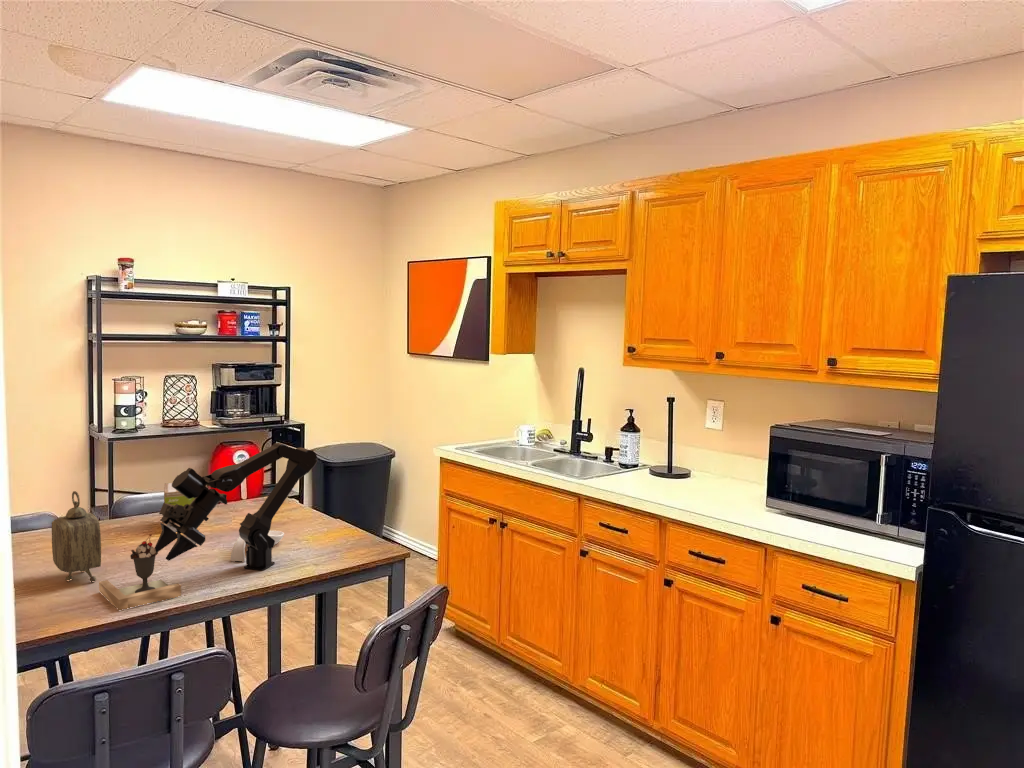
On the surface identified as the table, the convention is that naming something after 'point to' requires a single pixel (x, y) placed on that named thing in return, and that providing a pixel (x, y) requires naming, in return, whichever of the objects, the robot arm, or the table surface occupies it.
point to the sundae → (144, 563)
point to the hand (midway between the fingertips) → (160, 555)
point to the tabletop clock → (76, 541)
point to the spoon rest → (239, 545)
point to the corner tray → (131, 599)
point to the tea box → (175, 496)
